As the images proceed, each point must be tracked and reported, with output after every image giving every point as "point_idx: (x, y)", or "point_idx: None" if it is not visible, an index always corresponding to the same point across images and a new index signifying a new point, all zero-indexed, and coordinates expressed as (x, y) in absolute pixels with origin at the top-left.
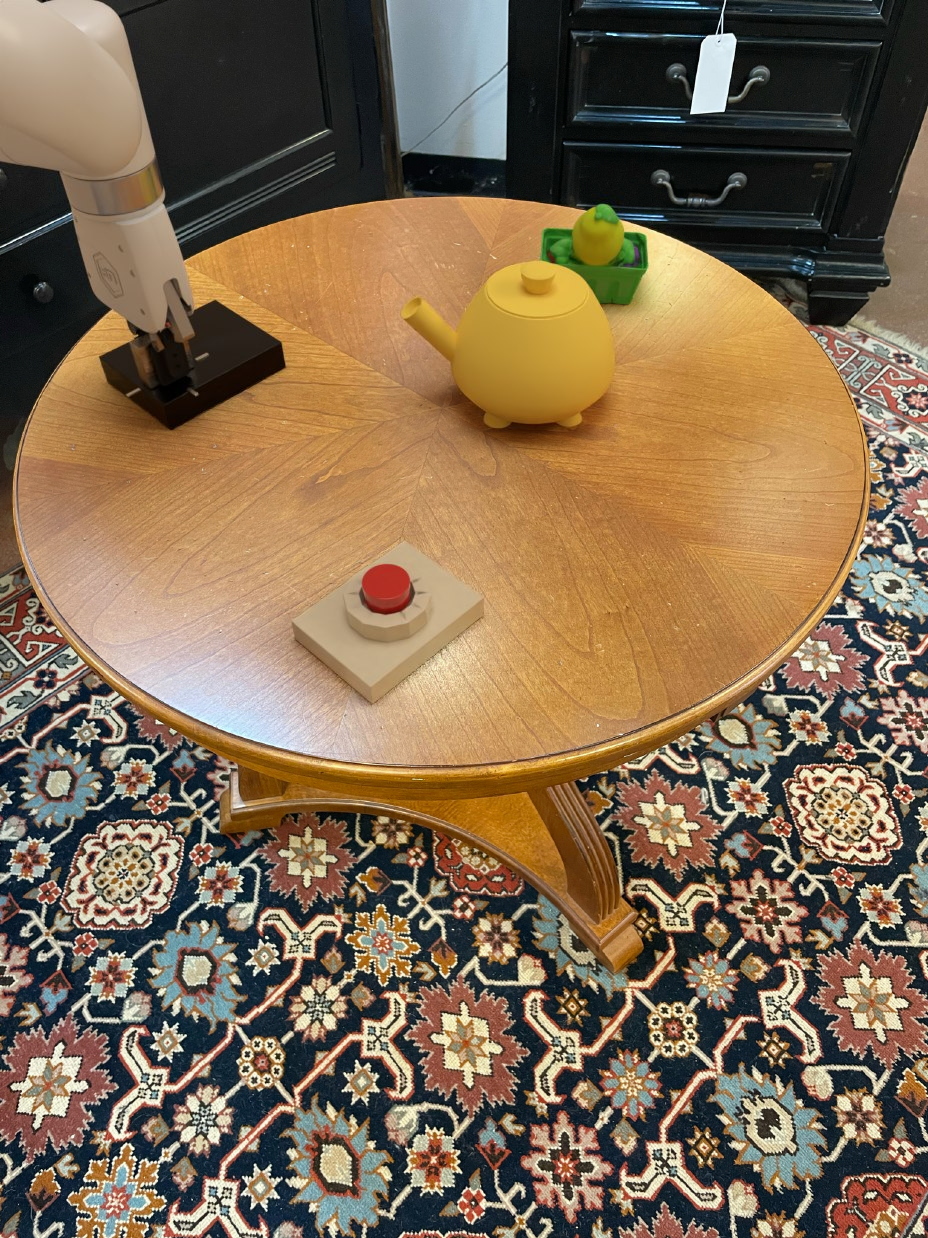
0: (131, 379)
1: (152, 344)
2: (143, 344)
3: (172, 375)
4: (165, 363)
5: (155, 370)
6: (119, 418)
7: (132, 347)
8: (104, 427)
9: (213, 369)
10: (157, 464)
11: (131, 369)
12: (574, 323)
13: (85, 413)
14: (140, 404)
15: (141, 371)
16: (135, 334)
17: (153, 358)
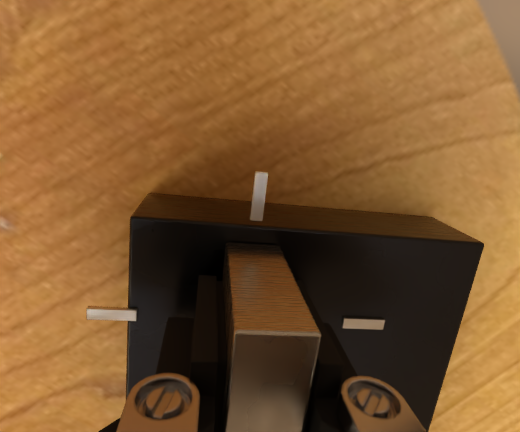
0: (320, 235)
1: (194, 392)
2: (243, 365)
3: (167, 320)
4: (184, 343)
5: (224, 299)
6: (299, 141)
7: (294, 320)
8: (302, 89)
9: None
10: (52, 71)
11: (357, 265)
12: None
13: (388, 97)
14: (286, 207)
15: (260, 265)
16: (345, 383)
17: (202, 333)
